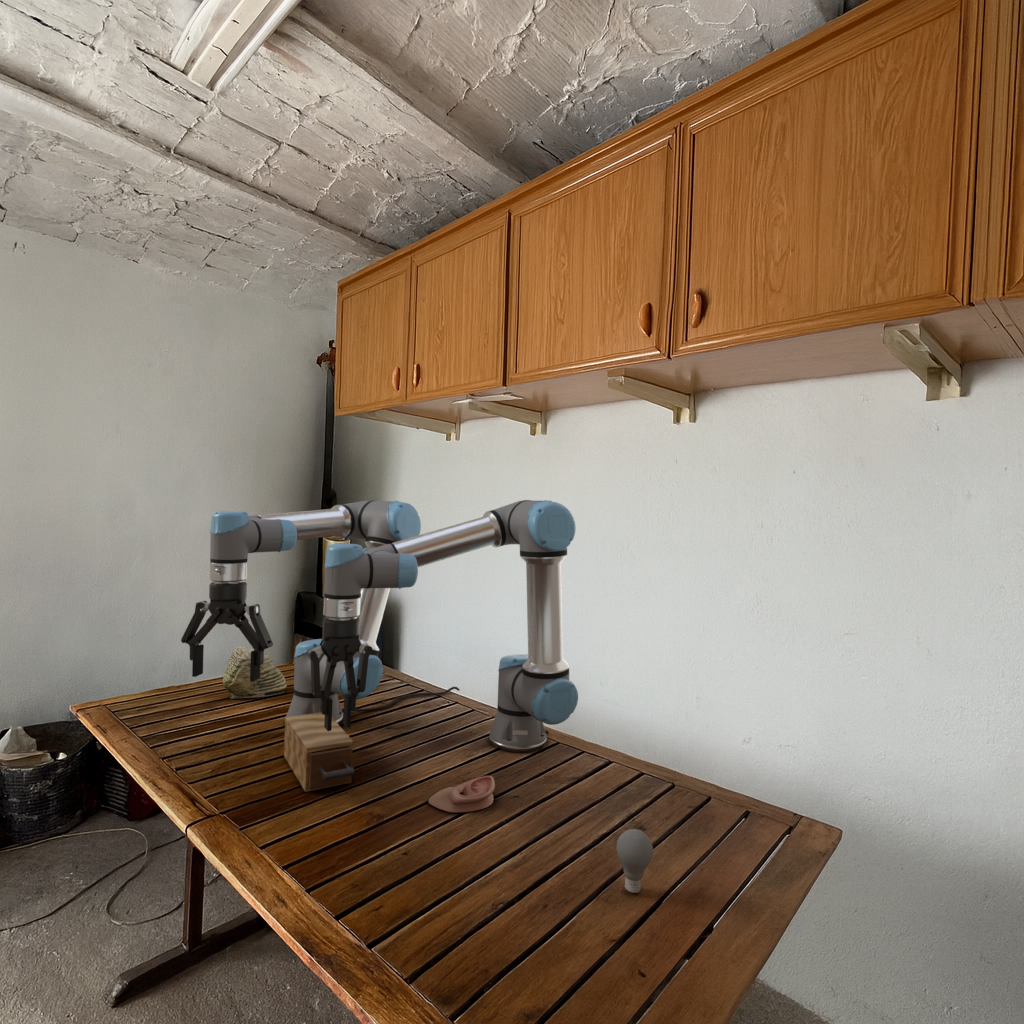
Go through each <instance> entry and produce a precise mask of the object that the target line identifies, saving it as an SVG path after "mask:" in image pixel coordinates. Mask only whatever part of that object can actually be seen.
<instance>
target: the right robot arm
mask: <svg viewBox="0 0 1024 1024" xmlns="http://www.w3.org/2000/svg"><path fill="white" fill-rule="evenodd" d="M575 536H576V521H575V518H574V515H573V514H572V513H571V511H570V510H569V509H568V508H567V507H566V506H565V505H564V504H562V503H559V502H556V501H552V500H547V499H545V500H531V499H523V500H517V501H514V502H512V503H509V504H506V505H502V506H500V507H498V508H495V509H491V510H488V511H485V512H484V513H483V516H481V517H478V518H475V519H471V520H467V521H464V522H460V523H456V524H454V525H449V526H445V527H442V528H439V529H436V530H433V531H429V532H426V533H421V534H419V535H418V536H415V537H411V538H408V539H404V540H401V541H397V542H394V543H391V544H387V545H383V546H380V547H368V548H367V547H365V548H364V547H363V546H362V545H361V544H359V543H331V544H330V545H328V546H327V547H326V555H325V562H324V588H323V589H324V591H323V592H324V593H323V594H324V595H323V611H322V614H323V616H324V618H323V620H322V635H321V636H322V637H321V639H322V641H321V643H320V646H318V647H316V648H314V649H309V650H308V651H307V653H308V655H309V657H310V660H311V686H312V694H313V695H314V696H315V697H316V698H321V705H320V711H321V713H322V714H323V715H325V721H324V727H325V728H326V730H327V731H331V728H332V702H333V700H332V699H331V698H330V697H329V695H330V690H331V685H332V681H333V676H334V671H335V667H336V665H337V662H340V661H343V662H344V665H345V673H346V680H347V688H348V692H349V694H344V696H343V709H344V711H343V722H342V724H343V726H344V727H345V728H346V729H351V728H352V727H351V725H352V723H351V722H352V712H354V711H353V710H355V709H357V708H356V706H357V699H356V697H357V696H358V693H360V692H364V691H365V687H366V677H367V668H368V659H369V656H370V653H371V651H372V647H371V646H369V645H368V644H362V643H361V641H360V639H359V628H360V619H359V618H358V617H357V616H359V615H360V599H361V589H364V588H365V589H369V588H390V589H399V590H401V589H403V588H412V587H414V586H415V584H416V583H417V581H418V576H419V568H421V567H425V566H428V565H431V564H434V563H437V562H441V561H445V560H447V559H450V558H453V557H457V556H460V555H463V554H466V553H471V552H473V551H477V550H479V549H484V548H487V547H489V546H491V547H493V548H496V549H497V548H500V547H503V546H508V545H509V546H510V545H519V557H520V558H521V559H522V561H524V562H525V569H526V573H525V575H526V610H527V611H526V618H527V619H526V621H527V623H526V624H527V653H525V654H524V653H523V654H510V655H504V656H502V657H501V658H500V659H499V665H498V683H497V709H496V713H495V717H494V719H493V722H492V724H491V728H490V729H489V735H488V741H489V743H490V744H491V745H492V746H493V747H494V748H496V749H499V750H502V751H506V752H513V753H529V752H535V751H539V750H541V749H543V748H544V747H546V745H547V735H549V734H550V731H549V730H547V729H545V725H544V724H546V725H549V726H551V725H552V726H553V725H554V726H555V725H559V724H561V723H564V722H565V721H566V720H568V719H569V718H570V716H571V715H572V714H574V711H575V710H576V708H577V706H578V703H579V702H578V701H579V692H578V688H577V686H576V685H575V683H574V682H573V681H572V680H570V664H569V663H568V662H567V661H566V659H564V646H563V645H564V643H563V591H562V589H563V587H562V584H563V583H562V562H563V561H564V560H565V559H566V558H567V557H568V547H569V546H570V545H571V542H572V541H574V539H575ZM358 649H359V652H360V657H359V666H358V675H357V684H356V682H355V674H354V667H353V665H354V662H353V656H354V654H355V653H356V652H357V650H358ZM322 651H323V653H324V654H325V655H326V657H327V660H326V669H325V673H324V678H323V683H322V688H321V691H320V664H319V659H318V658H320V656H321V652H322Z"/></svg>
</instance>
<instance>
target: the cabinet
mask: <svg viewBox="0 0 1024 1024" xmlns="http://www.w3.org/2000/svg"><path fill="white" fill-rule="evenodd" d="M324 721H325V715H323V714H322V713H321V712H319V713H312V714H305V715H297V716H290V717H286V716H285V718H284V739H283V740H284V742H283V757H284V758H285V760H286V763H287V764H288V765H289V767H290V769H291V771H292V772H293V774H294V775H295V777H296V779H297V780H298V782H299V784H300V785H301V787H302V789H303V791H304V792H305V793H306V792H307V793H308V792H312V791H316V790H322V789H327V788H332V787H337V786H341V785H348V784H352V781H351V782H348V783H343V784H338V785H333V786H328V787H323V788H318V789H313V790H310V789H309V772H310V753H311V752H314V751H320V750H326V749H332V748H338V747H344V746H345V747H352V750H353V747H354V740H353V739H352V738H351V737H350V736H349V735H348V733H347V732H345V730H344V729H343V728H342V727H341V726H340V725H338V724H337V722H336V721H335V720H334V719H333V718H332V728H331V731H327V730H326V728H325V727H324Z"/></svg>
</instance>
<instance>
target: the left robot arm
mask: <svg viewBox="0 0 1024 1024" xmlns="http://www.w3.org/2000/svg"><path fill="white" fill-rule="evenodd" d="M421 529H422V523H421V518H420V516H419V513H418V510H417V509H416V508H415V507H414V506H413V505H412V504H410V503H408V502H402V501H399V500H394V501H393V500H392V501H390V500H389V501H388V500H374V499H371V500H370V499H369V500H361V501H356V502H350V503H343V504H335V505H333V506H332V507H331V508H326V509H313V510H301V511H289V512H279V513H278V512H277V513H266V514H256V515H249V513H248V512H247V511H241V510H217V511H214V512H213V513H212V515H211V519H210V529H209V535H210V542H209V543H210V545H209V547H210V548H209V550H210V551H209V580H210V581H211V582H210V583H209V585H208V586H209V587H208V589H209V590H208V598H209V602H208V601H207V600H202V601H198V602H196V603H195V608H194V612H193V615H192V617H191V619H190V620H189V623H188V625H187V627H186V628H185V631H184V633H183V635H182V637H181V639H180V641H181V644H186V645H189V660H190V661H192V664H191V665H192V667H191V668H192V669H191V670H192V671H191V677H192V678H196V677H199V676H201V675H203V674H204V651H205V650H204V647H205V645H204V644H202V643H203V640H204V639H205V638H206V637H207V636H208V634H209V633H210V632H211V631H212V630H213V629H214V627H215V626H216V625H217V624H218V625H223V624H225V625H227V626H233V625H234V626H235V627H236V628H238V630H239V631H240V633H242V635H243V636H244V638H245V639H246V640H247V642H248V643H249V644H250V646H251V647H252V649H254V650H253V651H251V664H250V681H251V682H254V681H256V680H257V679H259V678H260V665H262V664H263V663H264V652H265V650H267V649H269V648H272V647H273V645H274V643H273V640H272V638H271V637H272V636H271V635H270V633H269V630H268V628H267V626H266V624H265V621H264V619H263V617H262V616H263V615H262V614H261V605H260V604H259V603H256V604H251V605H248V604H247V602H246V601H247V596H248V595H247V593H248V583H247V582H246V580H248V558H249V557H248V556H249V554H254V553H255V554H256V553H274V552H276V553H280V552H285V551H286V552H287V551H290V550H291V549H293V548H294V547H295V545H296V543H297V541H302V540H309V539H318V538H327V537H335V538H336V539H359V540H364V544H365V546H366V548H368V547H380V546H383V545H387V544H391V543H394V542H397V541H401V540H404V539H408V538H411V537H415V536H418V535H421ZM390 592H391V588H369V589H365V588H364V589H361V599H360V615H359V616H357V617H358V618H359V619H360V628H359V639H360V641H361V643H362V644H368V645H369V646H371V647H372V651H371V653H370V656H369V659H368V668H367V677H366V687H365V691H364V692H360V693H358V696H357V697H356V700H359V699H365V698H367V697H368V696H369V695H370V694H372V693H373V692H374V691H375V690H376V689H377V688H378V687H379V685H380V682H381V681H382V678H383V675H384V666H382V665H383V663H382V660H381V659H380V658H379V654H380V648H379V646H378V645H377V639H378V635H379V632H380V628H381V624H382V621H383V618H384V613H385V610H386V606H387V602H388V599H389V595H390ZM208 611H209V614H211V615H210V616H209V617H208V618H207V619H206V620H205V623H204V624H203V625H202V626H201V624H202V622H203V620H204V618H205V616H206V614H207V612H208ZM246 614H247V615H248V616H249V619H248V617H247V616H246ZM249 620H250V621H249ZM249 622H251V624H252V625H251V624H250V623H249ZM200 626H201V627H200ZM199 628H200V629H199ZM321 641H322V638H317V639H316V638H315V639H308V640H304V641H301V642H299V643H298V644H297V645H296V646H295V652H294V656H293V658H294V670H293V671H294V672H293V695H292V696H293V697H292V699H291V702H290V704H289V708H288V711H287V713H286V715H285V717H290V716H297V715H305V714H312V713H319V712H321V711H320V705H321V698H316V697H315V696H314V695H313V694H312V686H311V660H310V657H309V655H308V653H307V651H308V650H309V649H314V648H316V647H318V646H320V643H321ZM359 657H360V652H359V649H358V650H357V652H356V653H355V654H354V656H353V662H354V665H353V667H354V674H355V682H356V684H357V675H358V666H359ZM318 659H319V664H320V691H321V688H322V683H323V678H324V673H325V669H326V660H327V657H326V655H325V654H324V653H323V651H322V652H321V656H320V658H318ZM453 690H457V691H458V692H459V691H461V690H460V688H459V687H457V686H451V687H449V688H448V689H446V690H445V691H440V692H418V693H417V692H416V693H411V694H410V693H409V694H405V695H401V696H398V697H395V698H393V699H392V700H391V701H390V702H388V703H386V704H384V705H380V706H375V707H366V708H355V710H353V711H352V712H359V713H360V712H369V711H370V712H371V711H376V710H377V711H378V710H380V709H382V710H383V709H385V708H388V707H389V706H391V705H392V704H394V703H395V702H397V701H399V700H403V699H406V698H412V697H417V696H441V695H445V694H447V693H449V692H451V691H453ZM344 694H349V692H348V688H347V680H346V673H345V665H344V662H343V661H340V662H337V665H336V667H335V671H334V676H333V681H332V685H331V690H330V695H329V697H330V698H331V699H332V700H333V702H332V718H333V719H334V720H335V721H336V722H337V724H338V725H339V726H340V725H342V724H343V717H344V708H342V706H341V702H340V699H339V695H340V696H342V697H344Z"/></svg>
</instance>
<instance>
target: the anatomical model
mask: <svg viewBox="0 0 1024 1024" xmlns="http://www.w3.org/2000/svg"><path fill="white" fill-rule="evenodd" d="M495 788H496V782H495V779H494V777H493V776H491V775H483V776H480V777H476V778H473V779H470V780H467V781H466V782H463V783H461V784H459V785H455V786H451V787H446V788H443V789H440V790H439V791H437V792H436V793H434V794H433V795H432V796H430V798H429V799H428V800H427V801H428V804H429V805H431V806H432V807H434V808H435V809H439V810H441V811H444V812H446V813H468V812H475V811H480V810H482V809H485V808H488V807H490V806H491V805H492V804H493V803H494V800H495V799H494V794H493V792H494V790H495Z"/></svg>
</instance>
